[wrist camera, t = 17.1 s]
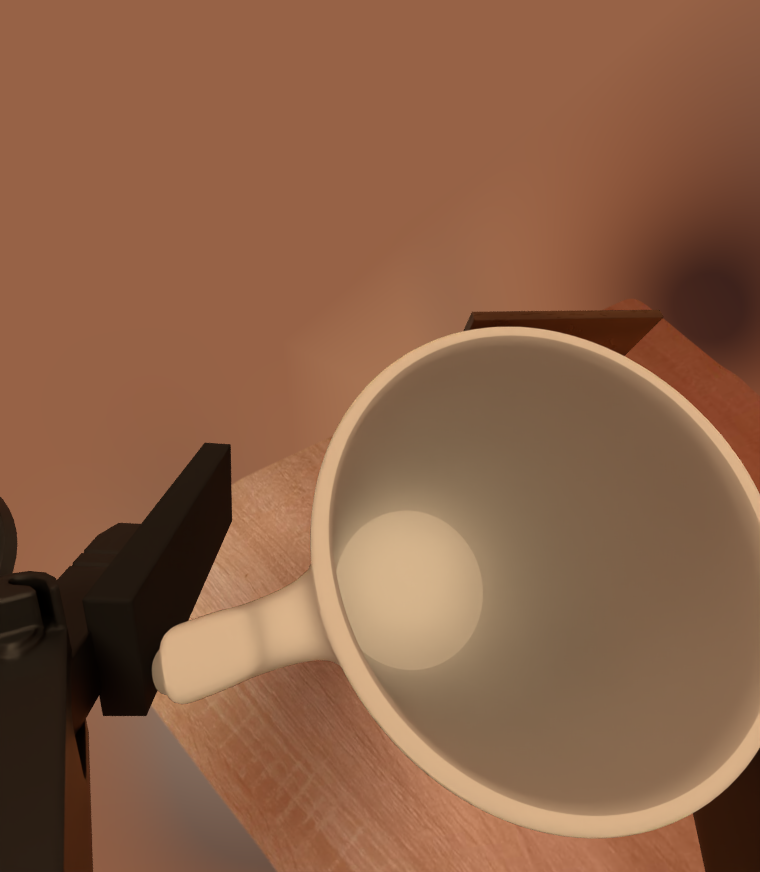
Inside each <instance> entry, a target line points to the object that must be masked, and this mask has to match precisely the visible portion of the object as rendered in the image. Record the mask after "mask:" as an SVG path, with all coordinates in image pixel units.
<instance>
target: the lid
mask: <svg viewBox="0 0 760 872" xmlns="http://www.w3.org/2000/svg"><path fill="white" fill-rule="evenodd" d="M662 318H663V315H662V313H661V312H660V310H600V311H514V312H513V311H512V312H472V313H471V315H470V317H469V320H468V322H467V324H466V326H465V329H464V331H468V330H473V329H480V328H489V327H527V328H537V329H544V330H550V331H555V332H560V333H564V334H568V335H571V336H575V337H578V338H581V339H585V340H588V341H590V342H593V343H596V344H598V345H601V346H603V347H606V348H608V349H610V350H612V351H614V352H616V353H619V354H621V355H623V356H625V355H626V354H627V353H628V352H629V351H630V350H631V349H632V348H633V347H634V346H635V345H636V344H637V343H638V342H639V341H640V340H641V339H642V338H643V337H644V336H645V335H646V334H647V333H648V332H649V331H650V330H651V329H652V328H653V327H654V326H655V325H656V324H657V323H658V322H659V321H660V320H661V319H662Z"/></svg>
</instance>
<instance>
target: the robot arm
mask: <svg viewBox="0 0 760 872" xmlns="http://www.w3.org/2000/svg"><path fill="white" fill-rule="evenodd" d="M231 522H232V497H231V447H230V444H215V443H204V444H203V446H202V447H201V448H200V450H199V451H198V452H197V453H196V455H195V456H194V457H193V459H192V460H191V461H190V462H189V464H188V465H187V466H186V468H185V469H184V470H183V471H182V473H181V474H180V475H179V477H178V478H177V479H176V480H175V482H174V483H173V484H172V485H171V487H170V488H169V489H168V490H167V492H166V493H165V494H164V496H163V497H162V498H161V499H160V501H159V502H158V503H157V504H156V506H155V507H154V508H153V510H152V511H151V512H150V513H149V515H148V516H147V517H146V519H145V520H144V521H143V522H142V524H131V523H118V524H116V525H114V526H113V527H111V528H109V529H108V530H106V531H104V532H103V533H101V534H99V535H98V536H97V537H96V538H95V539H94V540H93V541H92V542H91V543H90V545H89V546H88V547H87V548H86V549H85V550H84V553H81V554H80V556H79V557H78V558H77V559H76V560H75V561H74V562H73V565H72V566H70V567H69V568H68V569H67V570H66V571H65V572H64V573H63V574H62V575H61V576H60V577H59V579H58V580H56V578H55V577H53V576H51V575H49V574H47V573H44V572H33V571H27V572H19V573H12V574H8V575H4V576H1V577H0V872H93V861H92V828H91V796H90V765H89V732H88V727H87V722H86V717H87V716H88V714H89V712H90V710H91V708H92V707H93V705H94V703H95V701H96V700H97V698H98V696H100V702H101V707H102V712H103V716H146V715H147V713H148V711H149V708H150V706H151V704H152V702H153V699H154V697H155V695H156V693H157V689H156V687H155V685H154V682H153V677H152V663H153V660H154V658H155V655H156V653H157V652H158V651H159V649H160V644H161V641H162V639H163V637H164V635H165V634H166V633H167V632H168V631H169V630H170V629H171V628H172V627H174V626H176V625H178V624H181V623H184V622H187V621H188V620H189V617H190V615H191V613H192V611H193V608H194V606H195V604H196V601H197V599H198V597H199V595H200V592H201V590H202V588H203V586H204V583H205V581H206V579H207V576H208V574H209V572H210V570H211V567H212V565H213V563H214V560H215V558H216V556H217V554H218V551H219V549H220V547H221V545H222V542H223V540H224V538H225V535H226V533H227V531H228V529H229V526H230V524H231ZM693 816H694V820H695V825H696V830H697V834H698V839H699V844H700V848H701V853H702V858H703V863H704V867H705V872H760V748H759V750H758V751H757V753H756V754H755V756H754V758H753V759H752V760H751V762H750V763H749V764H748V766H747V767H746V768H745V769H744V771H743V772H742V773H741V774H740V775H739V776H738V778H737V779H736V780H735V781H734V782H733V783H732V784H731V785H730V786H729V787H728V788H727V789H725V790H724V791H723V792H722V793H721V794H720V795H719V796H717V797H716V798H715V799H713V800H712V801H711V802H709V803H708V804H707V805H705V806H704V807H702V808H701V809H699V810H698V811H696V812H694V813H693Z"/></svg>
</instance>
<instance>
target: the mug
mask: <svg viewBox="0 0 760 872" xmlns="http://www.w3.org/2000/svg"><path fill="white" fill-rule="evenodd" d="M310 549H311V565H310V566H309V568H308V570H307V571H306V572H305V573H304V574H303V575H302V576H301V577H299V578H298V579H297V580H296V581H294V582H292V583H291V584H289V585H287V586H286V587H284V588H282V589H280V590H278V591H276V592H274V593H271V594H269V595H267V596H265V597H262V598H260V599H257V600H254V601H252V602H249V603H246V604H243V605H240V606H237V607H233V608H229V609H225V610H221V611H217V612H214V613H211V614H207V615H204V616H201V617H198V618H195V619H192V620H190V621H187V622H184V623H181V624H178V625H176V626H174V627H172V628H171V629H170V630H169V631H168V632H167V633H166V634H165V635H164V637H163V639H162V641H161V644H160V649H159V651H158V652H157V653H156V655H155V658H154V660H153V663H152V677H153V682H154V685H155V687H156V689H157V690H158V691H159V692H160V693H162V694H164V695H168V697H169V698H170V699H171V700H172V701H173V702H175V703H179V704H188V703H191V702H195V701H197V700H200V699H203V698H205V697H208V696H211V695H213V694H216V693H218V692H221V691H223V690H226V689H228V688H230V687H233V686H235V685H237V684H239V683H241V682H243V681H246V680H248V679H251V678H253V677H256V676H259V675H261V674H264V673H267V672H270V671H273V670H276V669H279V668H282V667H286V666H290V665H294V664H298V663H302V662H309V661H315V660H322V661H332V662H334V663H336V664H338V665H340V666H341V668H342V669H343V671H344V673H345V675H346V677H347V679H348V681H349V682H350V684H351V686H352V687H353V689H354V691H355V692H356V694H357V696H358V697H359V699H360V700H361V702H362V703H363V705H364V706H365V708H366V709H367V710H368V712H369V713H370V715H371V716H372V717H373V719H374V720H375V721H376V722H377V724H378V725H379V726H380V728H381V729H382V730H383V731H384V732H385V734H386V735H387V736H388V737H389V738H390V739H391V740H392V741H393V743H394V744H395V745H396V746H397V747H398V748H399V749H400V750H401V751H402V752H403V753H404V754H405V755H406V756H407V757H408V758H409V759H410V760H411V761H412V762H414V763H415V764H416V765H417V766H418V767H419V768H420V769H421V770H423V771H424V772H425V773H426V774H427V775H429V776H430V777H431V778H432V779H434V780H435V781H436V782H438V783H439V784H440V785H442V786H443V787H444V788H446V789H447V790H449V791H450V792H452V793H453V794H455V795H456V796H458V797H459V798H461V799H463V800H464V801H466V802H468V803H470V804H471V805H473V806H475V807H477V808H479V809H481V810H483V811H485V812H487V813H489V814H491V815H493V816H495V817H498V818H500V819H502V820H505V821H508V822H510V823H513V824H515V825H519V826H522V827H525V828H528V829H531V830H535V831H539V832H543V833H548V834H553V835H559V836H566V837H575V838H614V837H623V836H630V835H635V834H640V833H644V832H648V831H652V830H655V829H658V828H661V827H664V826H667V825H669V824H672V823H674V822H676V821H679V820H681V819H683V818H685V817H687V816H689V815H690V814H692V813H694V812H696V811H698V810H699V809H701V808H702V807H704V806H705V805H707V804H708V803H709V802H711V801H712V800H713V799H715V798H716V797H717V796H719V795H720V794H721V793H722V792H723V791H724V790H725V789H727V788H728V787H729V786H730V785H731V784H732V783H733V782H734V781H735V780H736V779H737V778H738V776H739V775H740V774H741V773H742V772H743V771H744V769H745V768H746V767H747V766H748V764H749V763H750V762H751V760H752V759H753V758H754V756H755V754H756V753H757V751H758V750H759V748H760V494H759V492H758V490H757V488H756V486H755V484H754V482H753V481H752V479H751V477H750V475H749V474H748V472H747V470H746V469H745V467H744V465H743V464H742V462H741V461H740V459H739V458H738V456H737V455H736V454H735V452H734V451H733V450H732V448H731V447H730V446H729V444H728V443H727V442H726V440H725V439H724V438H723V437H722V436H721V434H720V433H719V432H718V431H717V430H716V429H715V427H714V426H713V425H712V424H711V423H710V422H709V421H708V420H707V419H706V418H705V417H704V416H703V415H702V414H701V413H700V412H699V411H698V410H697V409H696V408H695V407H694V406H693V405H692V404H691V403H690V402H689V401H688V400H687V399H685V398H684V397H683V396H682V395H681V394H680V393H678V392H677V391H676V390H675V389H674V388H672V387H671V386H670V385H668V384H667V383H666V382H664V381H663V380H662V379H660V378H659V377H657V376H656V375H655V374H653V373H652V372H650V371H649V370H647V369H645V368H644V367H642V366H641V365H639V364H637V363H635V362H634V361H632V360H630V359H628V358H626V357H624V356H623V355H621V354H619V353H616V352H614V351H612V350H610V349H608V348H606V347H603V346H601V345H598V344H596V343H593V342H590V341H588V340H585V339H581V338H578V337H575V336H571V335H568V334H564V333H560V332H555V331H550V330H544V329H537V328H527V327H489V328H480V329H473V330H468V331H463V332H459V333H455V334H452V335H448V336H445V337H442V338H439V339H437V340H434V341H432V342H429V343H427V344H425V345H423V346H420V347H418V348H416V349H415V350H413V351H411V352H409V353H408V354H406V355H404V356H403V357H401V358H399V359H398V360H397V361H395V362H394V363H392V364H391V365H390V366H388V367H387V368H386V369H385V370H383V371H382V372H381V373H380V374H379V375H378V376H377V377H375V378H374V379H373V380H372V381H371V382H370V383H369V384H368V385H367V387H366V388H365V389H364V390H363V391H362V392H361V393H360V394H359V396H358V397H357V398H356V399H355V401H354V402H353V403H352V405H351V406H350V408H349V409H348V410H347V412H346V414H345V415H344V417H343V418H342V420H341V422H340V423H339V425H338V427H337V429H336V431H335V433H334V435H333V437H332V439H331V441H330V443H329V446H328V448H327V451H326V453H325V456H324V459H323V462H322V465H321V468H320V471H319V475H318V479H317V483H316V488H315V493H314V499H313V506H312V515H311V531H310Z"/></svg>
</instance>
